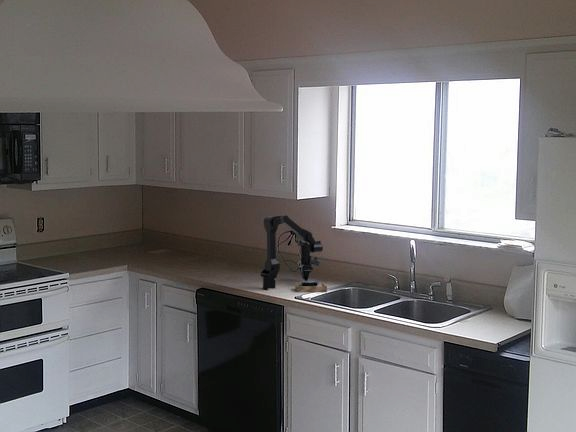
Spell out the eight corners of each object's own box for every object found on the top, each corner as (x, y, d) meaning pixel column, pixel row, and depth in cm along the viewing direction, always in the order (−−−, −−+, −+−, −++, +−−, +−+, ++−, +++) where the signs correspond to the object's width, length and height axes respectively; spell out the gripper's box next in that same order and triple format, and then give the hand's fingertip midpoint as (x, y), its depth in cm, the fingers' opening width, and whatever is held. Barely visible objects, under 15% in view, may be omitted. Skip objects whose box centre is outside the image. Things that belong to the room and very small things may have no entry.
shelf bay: (297, 292, 400) (298, 286, 399) (295, 288, 411) (295, 283, 411) (326, 292, 401) (326, 286, 401) (323, 288, 413) (323, 283, 413)
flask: (300, 282, 414) (302, 280, 425) (300, 287, 414) (302, 285, 425) (317, 281, 413) (318, 279, 424) (317, 287, 413) (319, 285, 424)
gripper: (322, 255, 419) (321, 283, 420) (316, 251, 437) (316, 278, 438) (302, 255, 417) (302, 283, 418) (297, 251, 436) (297, 278, 437)
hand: (305, 280), depth 428 cm, fingers open, 8 cm apart
